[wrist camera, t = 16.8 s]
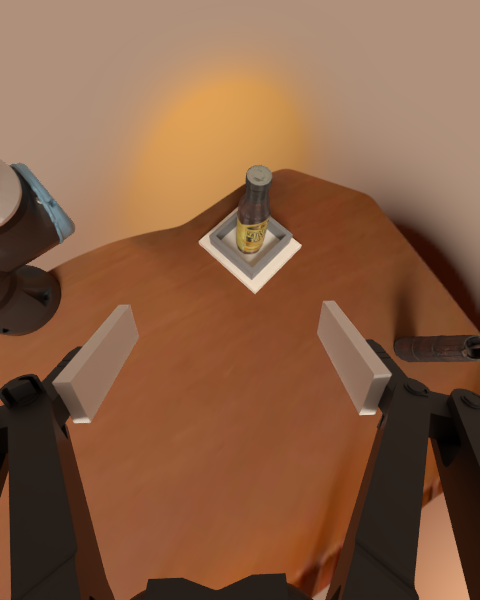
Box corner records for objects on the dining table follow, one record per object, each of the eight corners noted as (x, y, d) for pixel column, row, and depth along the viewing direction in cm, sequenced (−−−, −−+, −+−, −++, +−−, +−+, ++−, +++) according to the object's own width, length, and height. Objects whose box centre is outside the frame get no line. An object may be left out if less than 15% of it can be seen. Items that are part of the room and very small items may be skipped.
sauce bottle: (245, 260, 53) (250, 200, 34) (230, 240, 55) (227, 171, 35) (269, 246, 54) (286, 181, 35) (254, 227, 56) (263, 153, 37)
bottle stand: (199, 244, 56) (195, 233, 51) (245, 203, 59) (246, 189, 54) (254, 294, 52) (256, 287, 48) (300, 247, 56) (306, 237, 51)
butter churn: (386, 377, 48) (580, 390, 21) (375, 331, 50) (535, 288, 23) (430, 374, 48) (677, 382, 21) (417, 328, 51) (622, 283, 24)
